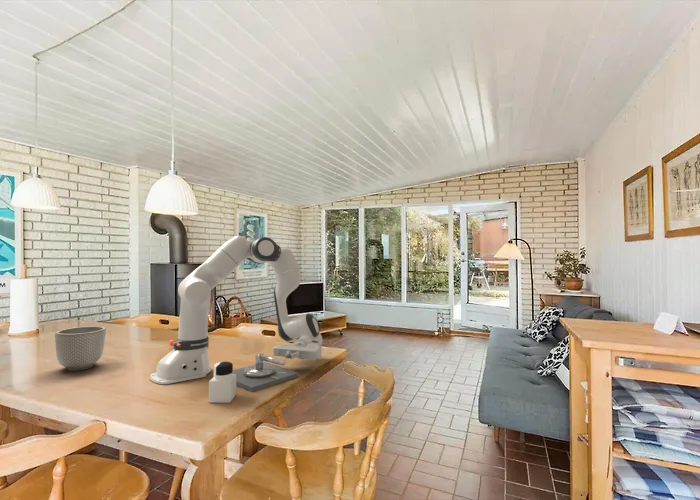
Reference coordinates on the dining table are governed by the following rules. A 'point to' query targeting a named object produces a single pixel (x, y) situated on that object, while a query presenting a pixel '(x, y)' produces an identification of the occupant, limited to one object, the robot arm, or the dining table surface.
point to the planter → (79, 346)
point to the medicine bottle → (222, 383)
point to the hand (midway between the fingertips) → (289, 356)
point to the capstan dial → (262, 366)
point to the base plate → (263, 378)
